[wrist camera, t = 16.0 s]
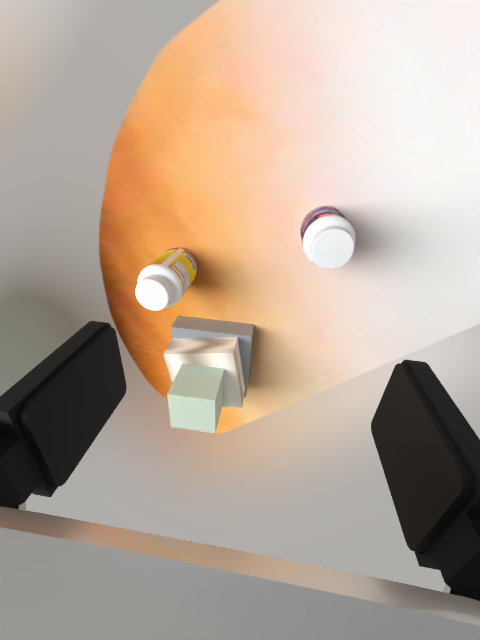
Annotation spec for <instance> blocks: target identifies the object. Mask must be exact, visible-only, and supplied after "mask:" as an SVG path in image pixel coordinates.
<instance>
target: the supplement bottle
mask: <svg viewBox="0 0 480 640" xmlns="http://www.w3.org/2000/svg"><path fill="white" fill-rule="evenodd" d="M197 271H198V267H197V263H196V260H195V258H194V257H193V256H192V255H191V254H190V253H189V252H188V251H186V250H184V249H181V248H171V249H168V250H167V251H165V252H164V253H163V254H161V255H160V256H159V257H158V258H157V259H155V260H154V261H153V262H152V263H150V264H149V265H148V266H147V267H145V268H144V269H143V270H142V271H141V273H140V274H139V277H138V284H137V286H136V289H135V294H136V298H137V300H138V301H139V303H140V304H141V305H142V306H143V307H145V308H147V309H149V310H153V311H158V310H162V309H163V308H167V307H171V306H173V305H175V304H176V303H177V302H178V301H179V300H180V299H181V297H182V296H183V294H184V293H185V292H186V290H187V289H188V287H189V286H190V285H191V283H192V282H193V280H194V279H195V277H196V275H197Z"/></svg>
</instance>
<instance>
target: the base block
mask: <svg viewBox="0 0 480 640" xmlns="http://www.w3.org/2000/svg"><path fill="white" fill-rule="evenodd" d="M253 328H254V325H253V324H244V323H236V322H228V321H219V320H211V319H202V318H194V317H185V316H178V318H177V319H176V321H175V322H174V324H173V325H172V327H171V330H172V339H173V338H210V337H238V343H239V350H240V357H241V364H242V370H243V377H244V384H245V392H244V397H246V394H247V388H248V382H249V371H250V360H251V349H252V338H253Z"/></svg>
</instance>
